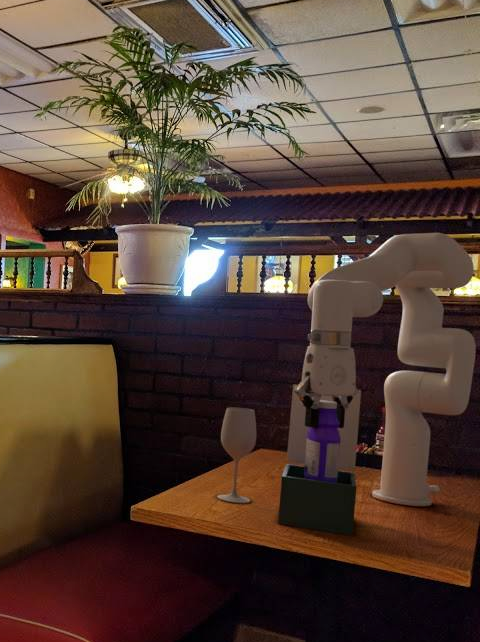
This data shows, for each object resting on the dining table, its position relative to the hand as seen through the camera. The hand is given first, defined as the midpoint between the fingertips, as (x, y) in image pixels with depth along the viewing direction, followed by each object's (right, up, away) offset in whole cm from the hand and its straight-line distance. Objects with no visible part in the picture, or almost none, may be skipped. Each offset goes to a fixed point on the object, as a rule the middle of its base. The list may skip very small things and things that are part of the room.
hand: (324, 426), depth 155 cm
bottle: (0, -12, +1) cm, 12 cm away
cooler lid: (+5, -1, +10) cm, 11 cm away
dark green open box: (-1, -20, +3) cm, 20 cm away
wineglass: (-12, -19, +18) cm, 29 cm away
